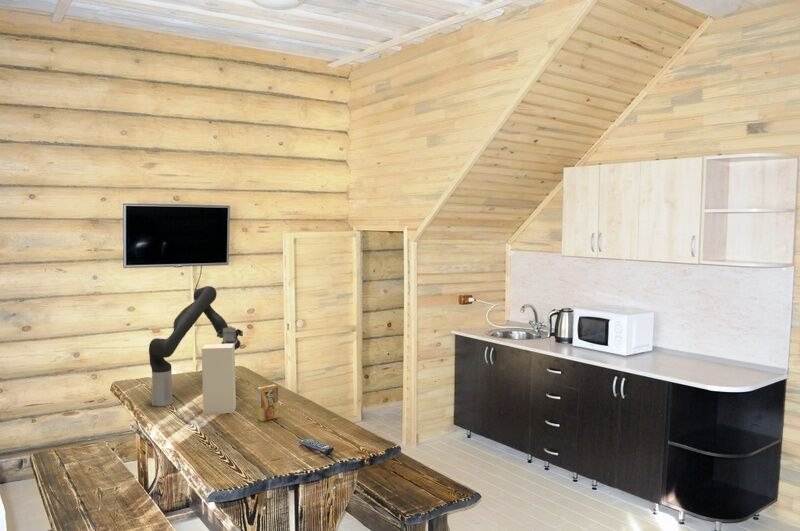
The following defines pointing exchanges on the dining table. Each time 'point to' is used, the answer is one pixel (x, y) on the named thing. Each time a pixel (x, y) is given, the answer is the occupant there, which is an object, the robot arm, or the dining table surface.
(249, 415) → the dining table surface
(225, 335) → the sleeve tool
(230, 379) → the tall beige cuboid
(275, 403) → the candy box
